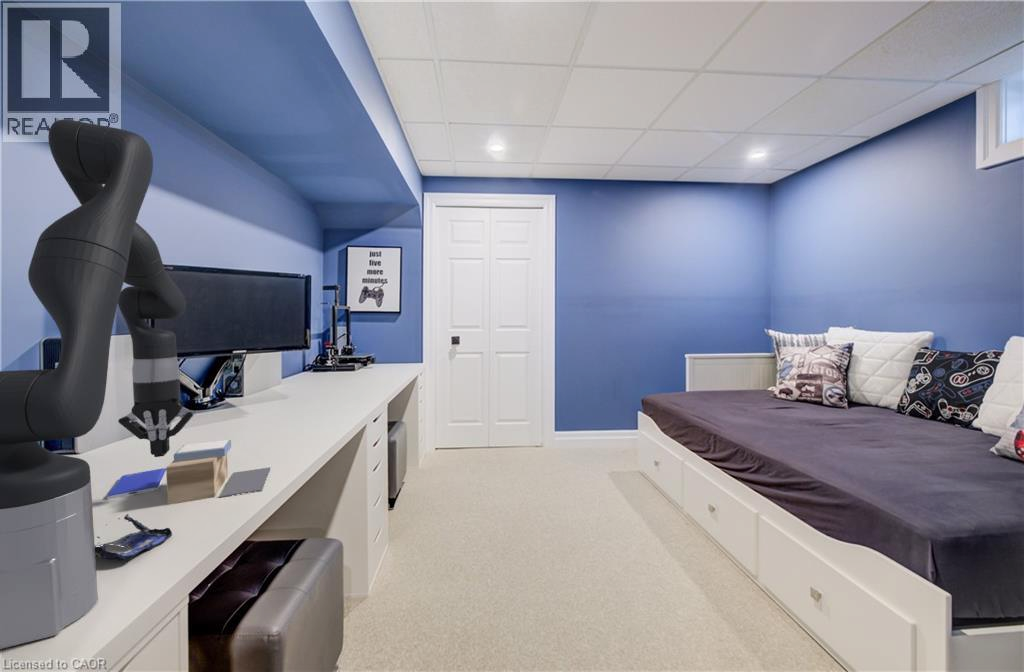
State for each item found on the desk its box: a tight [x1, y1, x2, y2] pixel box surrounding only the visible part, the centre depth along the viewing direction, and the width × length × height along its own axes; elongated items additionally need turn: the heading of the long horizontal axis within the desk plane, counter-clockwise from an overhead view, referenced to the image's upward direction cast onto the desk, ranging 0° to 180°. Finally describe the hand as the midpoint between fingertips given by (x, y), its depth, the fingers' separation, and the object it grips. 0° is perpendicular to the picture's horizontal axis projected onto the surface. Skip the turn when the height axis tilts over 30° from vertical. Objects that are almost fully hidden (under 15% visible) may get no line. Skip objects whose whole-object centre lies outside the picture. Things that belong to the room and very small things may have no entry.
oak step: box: [165, 453, 229, 505], centre depth 88 cm, size 12×8×8 cm, turn 26°
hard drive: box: [106, 467, 166, 500], centre depth 90 cm, size 2×8×12 cm
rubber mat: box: [218, 467, 272, 499], centre depth 92 cm, size 14×8×1 cm, turn 26°
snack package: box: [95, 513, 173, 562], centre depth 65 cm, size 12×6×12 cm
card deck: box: [173, 439, 232, 463], centre depth 88 cm, size 6×9×2 cm
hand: (160, 455), depth 85 cm, fingers closed
